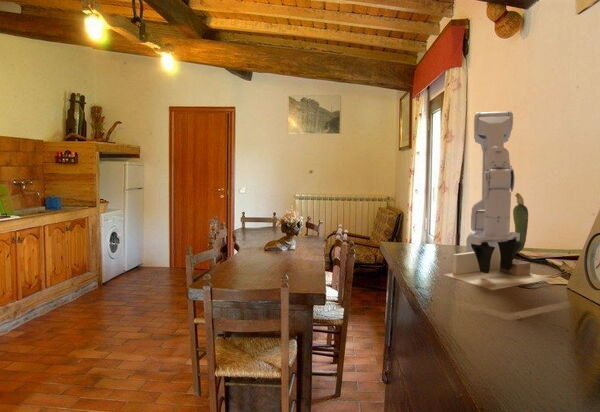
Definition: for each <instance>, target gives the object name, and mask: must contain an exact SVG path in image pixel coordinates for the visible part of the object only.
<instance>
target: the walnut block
mask: <svg viewBox="0 0 600 412" xmlns="http://www.w3.org/2000/svg"><path fill="white" fill-rule="evenodd" d="M499 272H502V273H505V274H509V275H513V276H522V275H528V274H530V273H531V262H529V261H525V260H519V259H515V258H514V259H513V262H512V265H511V268H510V270H506V269H502V268H501V261H500V270H499Z"/></svg>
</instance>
